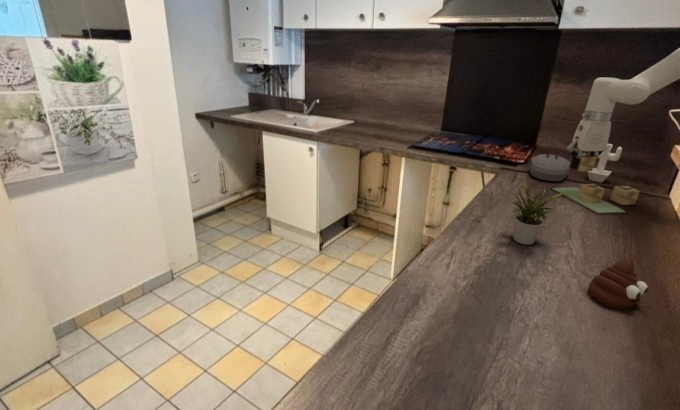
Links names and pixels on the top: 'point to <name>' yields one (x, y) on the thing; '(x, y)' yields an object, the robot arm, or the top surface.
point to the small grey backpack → (549, 167)
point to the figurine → (600, 173)
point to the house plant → (529, 216)
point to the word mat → (596, 207)
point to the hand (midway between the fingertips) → (580, 167)
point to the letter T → (624, 195)
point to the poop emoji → (618, 285)
